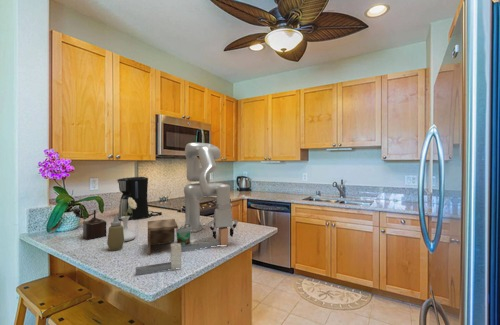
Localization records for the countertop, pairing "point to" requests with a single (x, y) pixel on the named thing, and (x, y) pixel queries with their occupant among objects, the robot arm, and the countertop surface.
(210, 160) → the robot arm
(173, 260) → the l-shaped tool
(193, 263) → the countertop surface
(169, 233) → the walnut cubby
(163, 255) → the countertop surface
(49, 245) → the countertop surface
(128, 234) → the flower in vase
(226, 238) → the crook tool
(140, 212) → the coffee maker
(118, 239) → the squeeze bottle
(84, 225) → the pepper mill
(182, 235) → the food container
